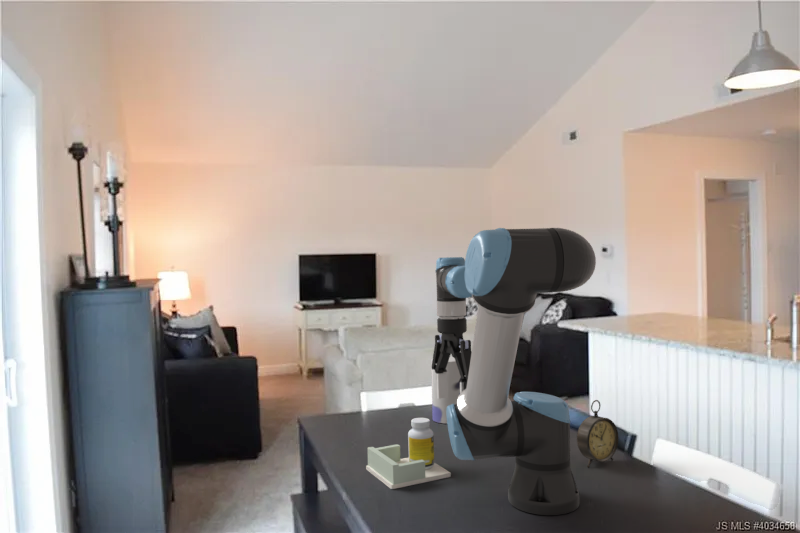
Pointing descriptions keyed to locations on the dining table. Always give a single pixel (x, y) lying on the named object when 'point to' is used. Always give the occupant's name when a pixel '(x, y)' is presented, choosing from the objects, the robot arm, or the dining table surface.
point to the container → (452, 391)
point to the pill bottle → (421, 442)
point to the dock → (400, 468)
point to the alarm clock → (597, 438)
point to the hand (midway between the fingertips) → (453, 402)
